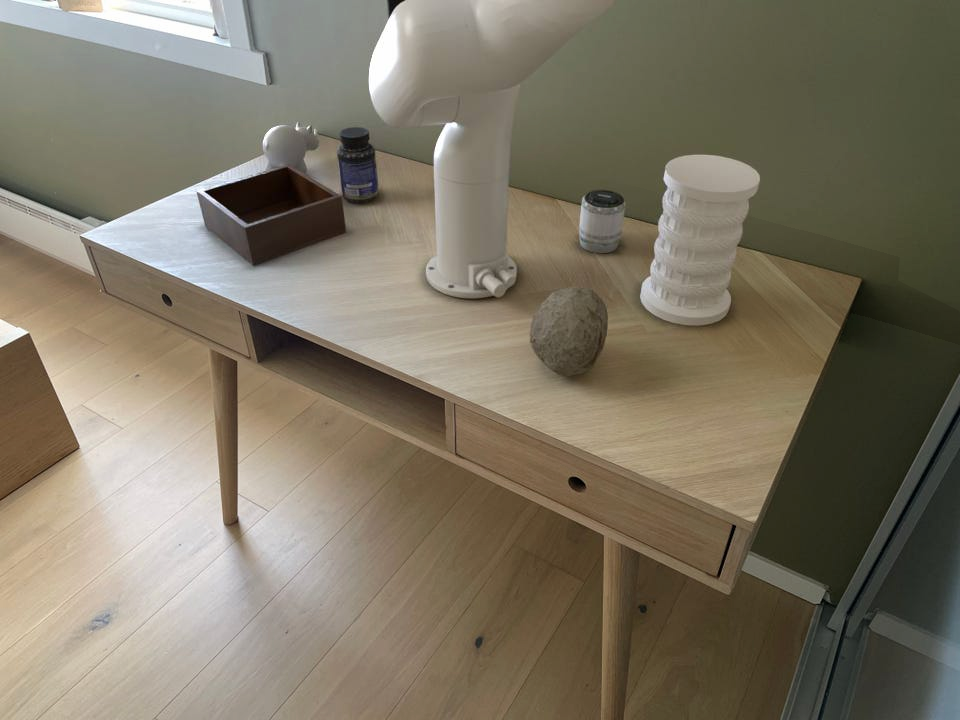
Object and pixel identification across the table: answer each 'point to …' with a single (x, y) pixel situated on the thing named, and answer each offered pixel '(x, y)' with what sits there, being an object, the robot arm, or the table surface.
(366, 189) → the pill bottle
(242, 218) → the box
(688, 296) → the decorative container
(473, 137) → the robot arm
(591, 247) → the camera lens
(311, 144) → the toy rhinoceros
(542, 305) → the decorative stone
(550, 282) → the table surface
